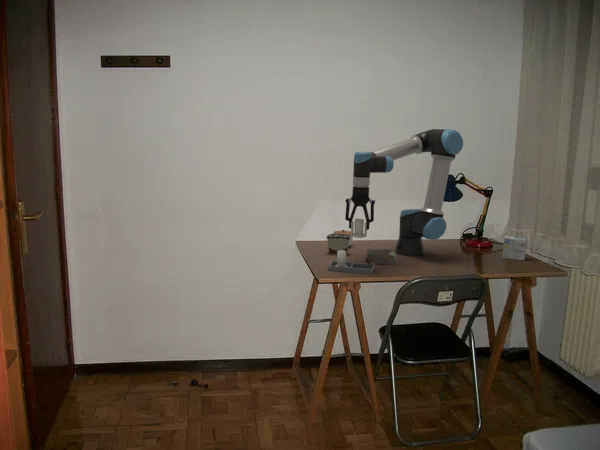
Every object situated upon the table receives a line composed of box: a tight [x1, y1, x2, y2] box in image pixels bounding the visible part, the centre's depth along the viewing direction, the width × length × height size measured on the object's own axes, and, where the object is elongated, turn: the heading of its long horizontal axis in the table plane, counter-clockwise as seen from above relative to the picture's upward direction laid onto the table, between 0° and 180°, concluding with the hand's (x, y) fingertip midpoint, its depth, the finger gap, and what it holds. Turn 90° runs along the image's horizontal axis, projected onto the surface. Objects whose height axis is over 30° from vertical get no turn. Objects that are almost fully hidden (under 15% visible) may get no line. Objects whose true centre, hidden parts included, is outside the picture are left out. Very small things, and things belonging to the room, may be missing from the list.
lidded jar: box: [332, 229, 354, 247], centre depth 277 cm, size 11×11×9 cm
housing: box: [327, 250, 376, 275], centre depth 234 cm, size 20×10×8 cm, turn 76°
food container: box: [326, 233, 350, 256], centre depth 262 cm, size 12×6×10 cm, turn 84°
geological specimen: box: [365, 248, 399, 266], centre depth 249 cm, size 11×6×15 cm
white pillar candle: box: [353, 218, 365, 239], centre depth 234 cm, size 6×6×8 cm
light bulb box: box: [501, 235, 527, 261], centre depth 258 cm, size 11×7×11 cm, turn 65°
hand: (358, 235), depth 235 cm, fingers closed on white pillar candle, 5 cm apart
